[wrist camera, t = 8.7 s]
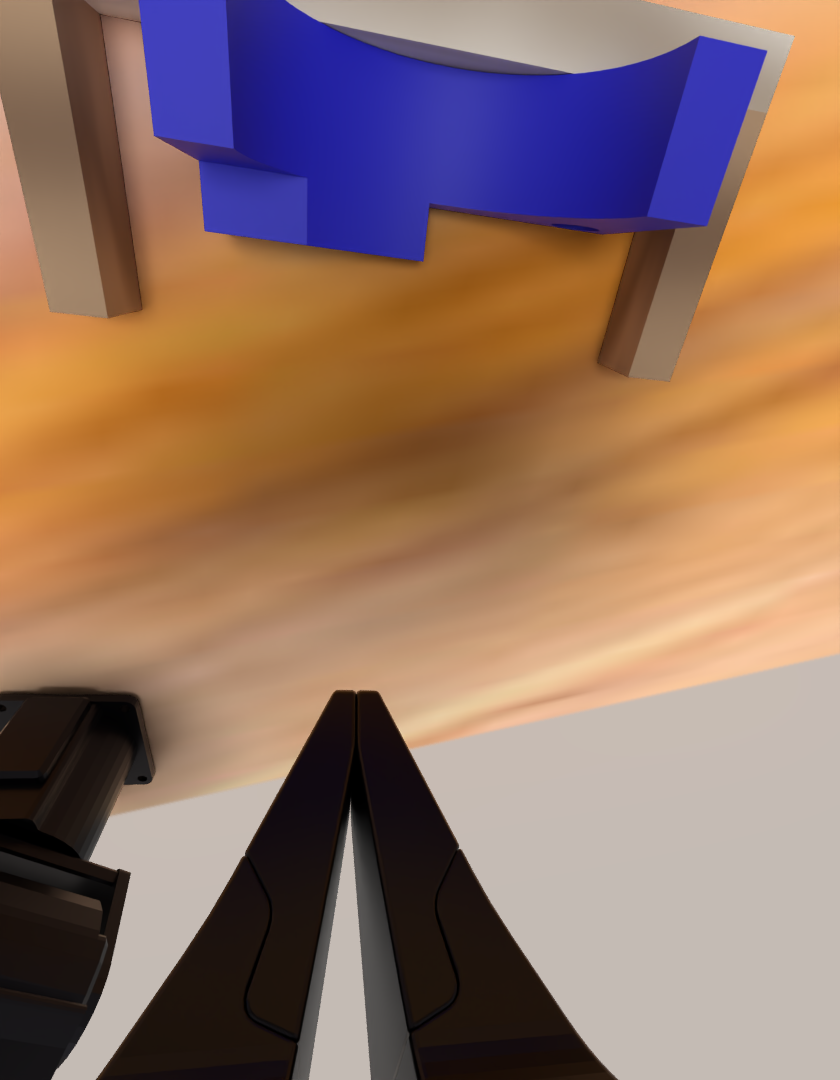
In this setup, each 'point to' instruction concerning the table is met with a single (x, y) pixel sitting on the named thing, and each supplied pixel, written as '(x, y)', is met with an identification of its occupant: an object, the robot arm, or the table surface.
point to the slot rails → (390, 24)
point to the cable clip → (430, 131)
